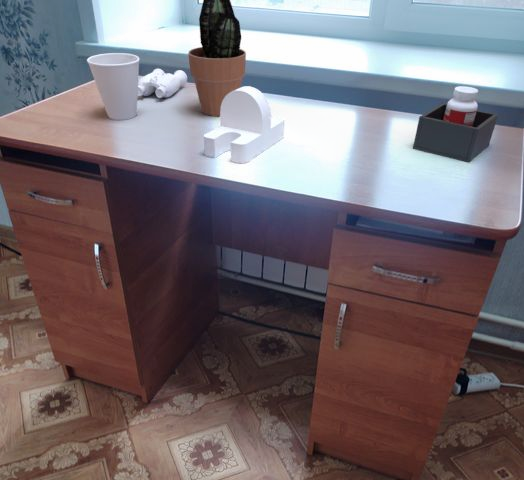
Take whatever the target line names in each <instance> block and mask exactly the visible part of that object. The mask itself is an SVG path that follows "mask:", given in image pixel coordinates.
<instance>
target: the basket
mask: <svg viewBox="0 0 524 480" xmlns="http://www.w3.org/2000/svg"><path fill="white" fill-rule="evenodd" d="M446 107H447V103H444V102H443V103H440V104H439V105H436V106H435V107H433V108H432V109H430V110H428V111H427V112H425V113H423V114H422V115H420V116H419V117H418V123H417V125H416V126H417V127H416V132H415V135H414V136H415V137H414V140H413V146H412V149H414V150H418V151H421V152H424V153H425V152H426V153H431V154H434V155H439V156H443V157H446V158H450V159H454V160H458V161H463V162H466V163H470V162H471V161H473V160H474V159H475V158H476V157H477V156H478V155H479V154H481V153H482V152H483V151H484V150H485V149H487V148H488V147H489V146H490V143H491V141H492V137H493V134H494V130H495V127H496V125H497V120H498V117H499V114H498V113H493V112H489V111H484V110H480V109H479V110H478V109H477V111H476V115H475V118H474V122H473V125H472V127H471V126H466V125H462V124H457V123H452V122H447V121H443V119H444V115H445V111H446Z"/></svg>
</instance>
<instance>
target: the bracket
mask: <svg viewBox="0 0 524 480" xmlns="http://www.w3.org/2000/svg"><path fill="white" fill-rule="evenodd" d="M219 119H220V125H219V126H217V127H216V128H214V129H212V130H210V131H208V132H207V133H205V134H203V149H204V151H203V152H204V156H205V157H210V158H214V159H216V158H218V157H219V156H221V155H223V154H224V153H226V152H230V162H232V163H236V164H241V165H242V164H248V163H250V161H252V160H254V159H255V158H256V157H258V156H259V155H262V153H264V152H265V151H266V150H268V149H269V148H271V147H272V146H274V145H275V144H277V143H278V142H280V141H281V140H283V139H285V136H284V135H285V118H283V117H278V116H272V110H271V105H270V103H269V101H268V99H267V97H266V96H265V94H263V93H262V91H261V90H259V89H258V88H256V87H253V86H250V85H245V86H241V88H238V89H236V90H234V91H232V92H230V93H229V94H227V95H226V96H225V98H224V99H223V101H222V104H221V108H220V116H219Z"/></svg>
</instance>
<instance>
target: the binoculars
mask: <svg viewBox="0 0 524 480" xmlns="http://www.w3.org/2000/svg"><path fill="white" fill-rule="evenodd" d="M187 82H188V75H187V73H186V72H185V71H183V70H181V69H178V70H175V71H174V72H173V74H172V73H169V72H167V73H165V71H164V70H162V69H161V68H155V69H153V70H152V72H150V73H147V74H146V75H144V76H142V77H141V78H140V79H138V94H137V97H141V96H144V97H148V96H150V95H152V94H155V96H156V97H157V98H159V99H161V98H170V97H171V96H173V95H174V94H175V93H177V91H179V89H180V87H183V86H185V85H187Z"/></svg>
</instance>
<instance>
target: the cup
mask: <svg viewBox="0 0 524 480" xmlns="http://www.w3.org/2000/svg"><path fill="white" fill-rule="evenodd" d="M140 60H141V58H140V57H139V56H138V55H136V54H132V53H126V52H125V53H124V52H123V53H122V52H111V53H99V54H95V55H91V56H89V57H88V58H87V59H86V63H87V65H88V66H89V69H90V72H91V74H92V77H93V79H94V82H95V85H96V88H97V90H98V93H99V95H100V98H101V102H102V104H103V106H104V109H105V112H106V115H107V117H108V118H109V119H111V120H114V121H117V120H118V121H126V120H131V119H134V118H136V117H137V112H138V111H137V110H138V96H137V94H138V81H139V75H140V73H139V72H140Z"/></svg>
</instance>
